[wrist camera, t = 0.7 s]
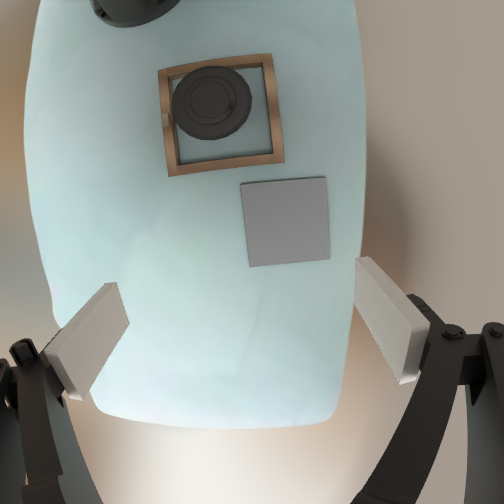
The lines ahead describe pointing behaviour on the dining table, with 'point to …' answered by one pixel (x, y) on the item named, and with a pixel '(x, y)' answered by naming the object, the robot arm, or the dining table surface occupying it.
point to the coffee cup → (211, 102)
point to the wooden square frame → (177, 169)
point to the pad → (286, 221)
